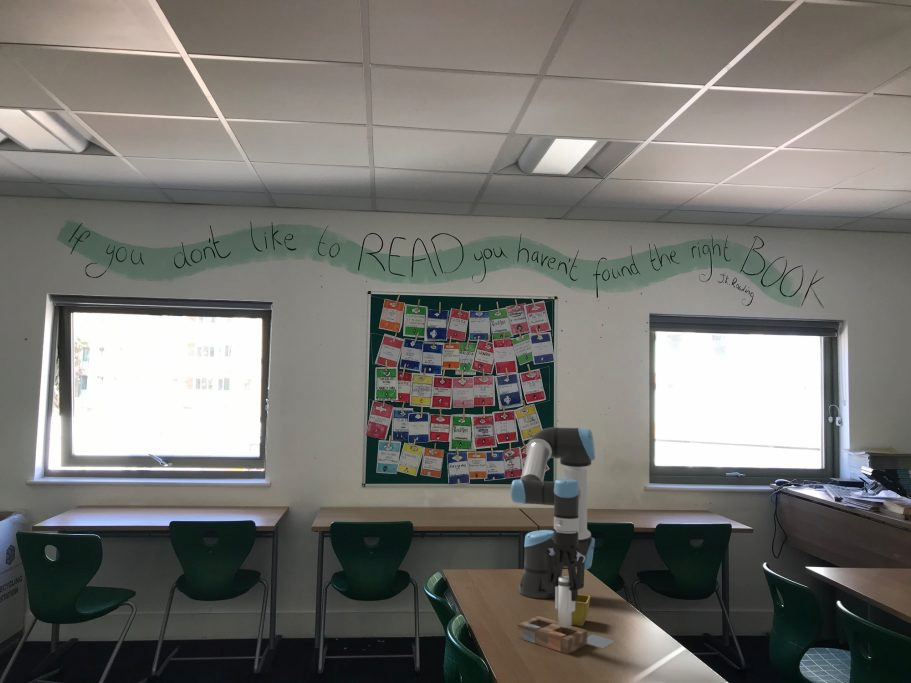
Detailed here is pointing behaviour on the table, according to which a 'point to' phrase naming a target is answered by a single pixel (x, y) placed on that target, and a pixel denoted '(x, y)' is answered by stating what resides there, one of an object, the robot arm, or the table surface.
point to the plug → (564, 602)
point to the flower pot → (580, 610)
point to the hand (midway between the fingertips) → (565, 609)
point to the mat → (598, 641)
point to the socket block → (552, 635)
